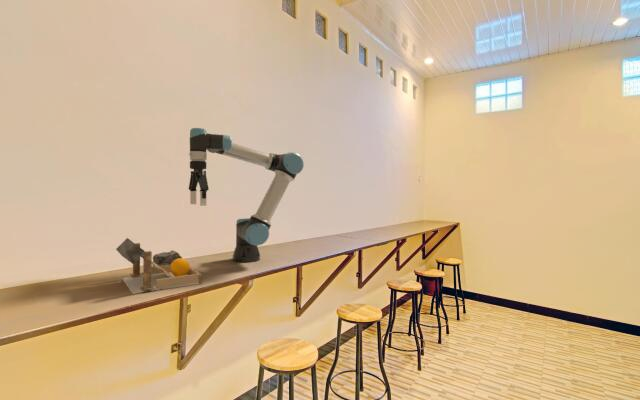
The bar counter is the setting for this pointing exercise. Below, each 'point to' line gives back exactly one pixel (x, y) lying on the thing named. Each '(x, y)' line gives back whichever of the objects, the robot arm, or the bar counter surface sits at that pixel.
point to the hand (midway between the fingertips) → (198, 204)
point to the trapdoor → (134, 253)
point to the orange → (180, 267)
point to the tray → (163, 280)
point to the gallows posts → (144, 270)
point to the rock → (165, 258)
